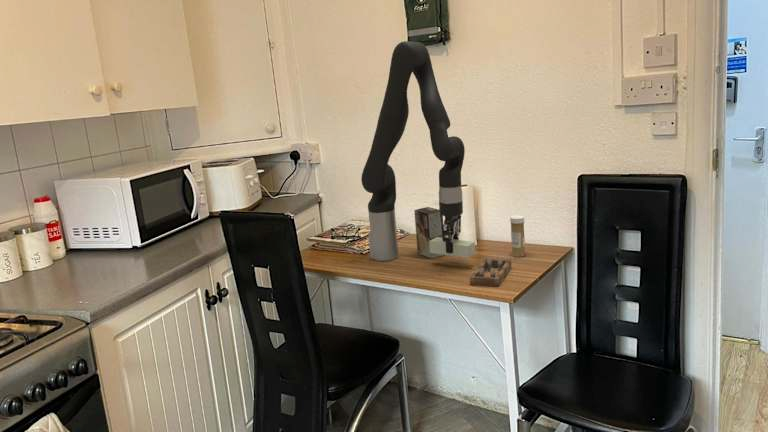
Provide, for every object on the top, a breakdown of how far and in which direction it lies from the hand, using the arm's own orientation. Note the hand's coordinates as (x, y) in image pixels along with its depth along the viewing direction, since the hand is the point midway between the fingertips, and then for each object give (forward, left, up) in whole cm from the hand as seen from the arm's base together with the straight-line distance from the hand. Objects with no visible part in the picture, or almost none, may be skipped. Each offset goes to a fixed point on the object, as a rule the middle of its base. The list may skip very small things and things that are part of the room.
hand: (452, 249), depth 203 cm
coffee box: (-11, +11, -6) cm, 17 cm away
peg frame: (+15, -8, -5) cm, 17 cm away
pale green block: (0, 0, -1) cm, 1 cm away
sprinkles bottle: (+19, +14, -6) cm, 24 cm away
